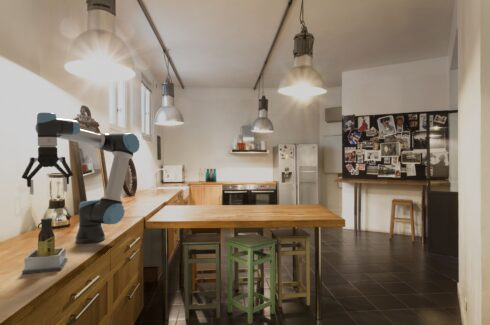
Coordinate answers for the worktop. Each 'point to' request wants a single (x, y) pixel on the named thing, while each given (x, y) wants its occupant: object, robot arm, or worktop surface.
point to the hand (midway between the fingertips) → (49, 192)
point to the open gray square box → (45, 262)
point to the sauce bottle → (46, 239)
